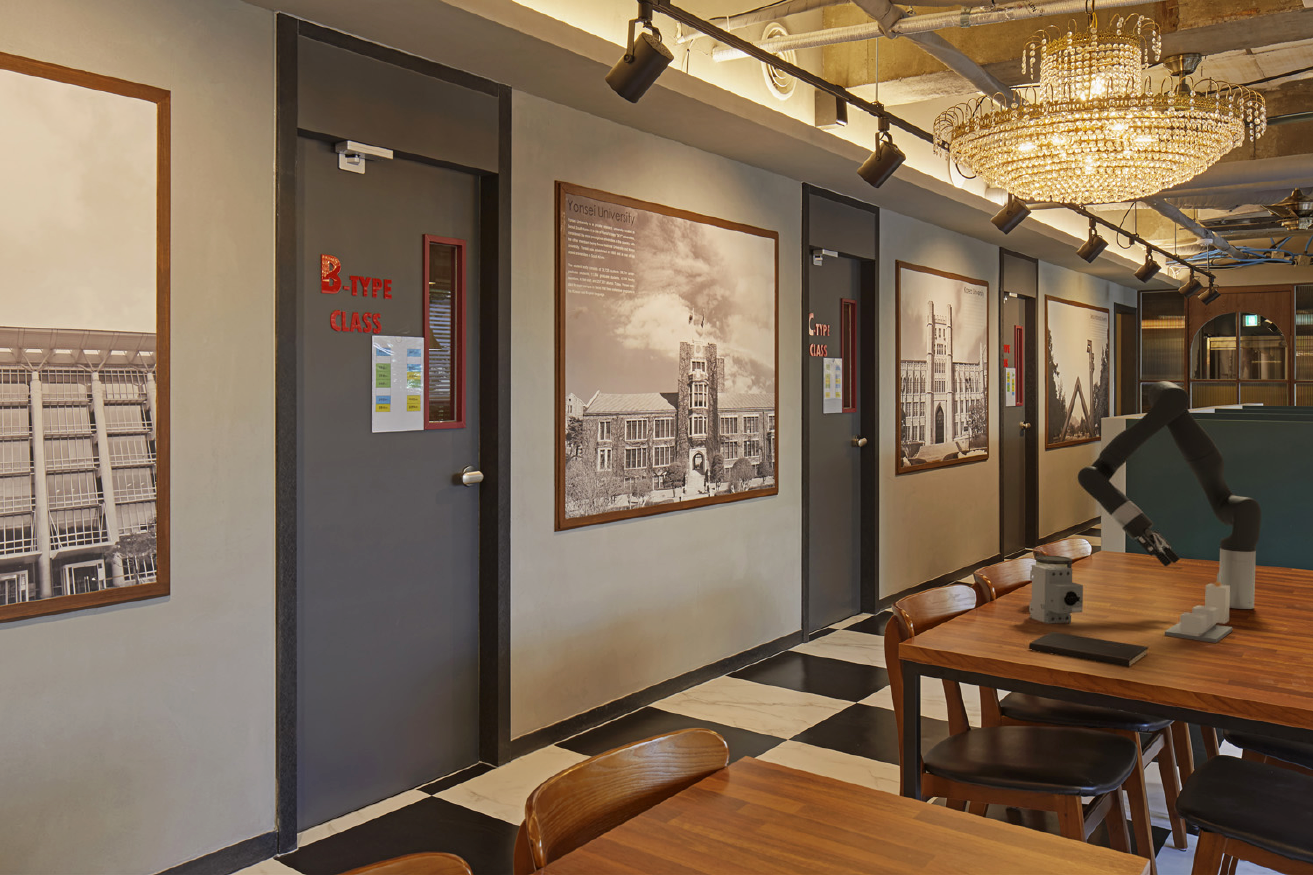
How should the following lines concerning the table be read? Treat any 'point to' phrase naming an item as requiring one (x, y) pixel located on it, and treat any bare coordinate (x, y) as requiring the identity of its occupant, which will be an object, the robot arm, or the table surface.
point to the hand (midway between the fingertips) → (1173, 562)
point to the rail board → (1205, 637)
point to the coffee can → (1054, 561)
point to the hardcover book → (1089, 648)
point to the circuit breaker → (1054, 594)
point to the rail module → (1218, 600)
